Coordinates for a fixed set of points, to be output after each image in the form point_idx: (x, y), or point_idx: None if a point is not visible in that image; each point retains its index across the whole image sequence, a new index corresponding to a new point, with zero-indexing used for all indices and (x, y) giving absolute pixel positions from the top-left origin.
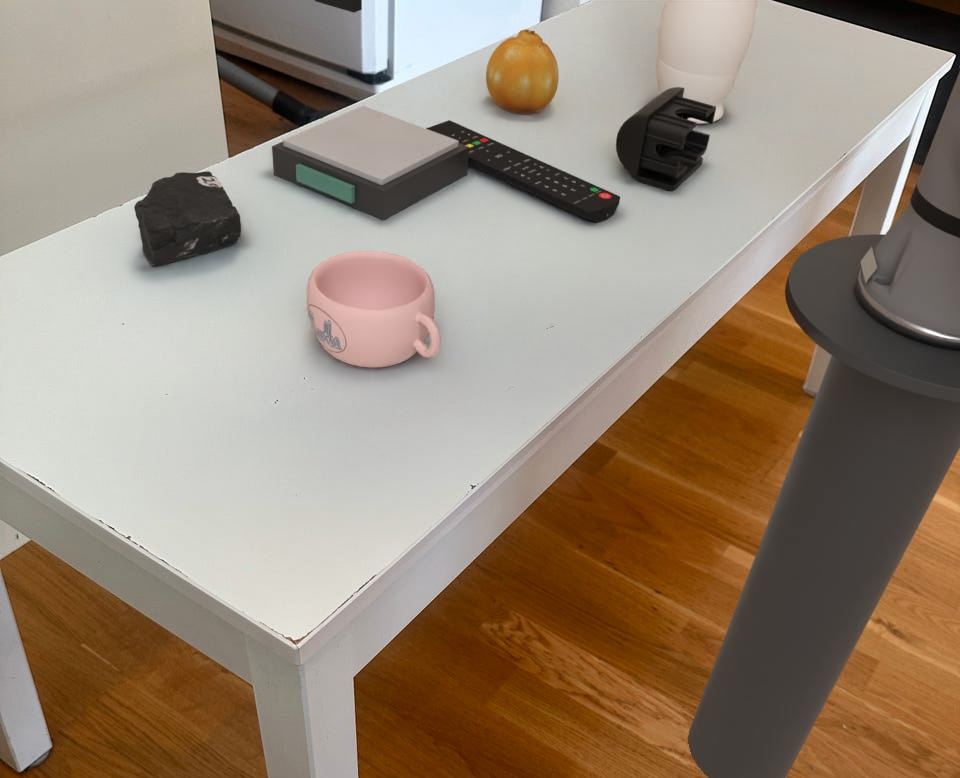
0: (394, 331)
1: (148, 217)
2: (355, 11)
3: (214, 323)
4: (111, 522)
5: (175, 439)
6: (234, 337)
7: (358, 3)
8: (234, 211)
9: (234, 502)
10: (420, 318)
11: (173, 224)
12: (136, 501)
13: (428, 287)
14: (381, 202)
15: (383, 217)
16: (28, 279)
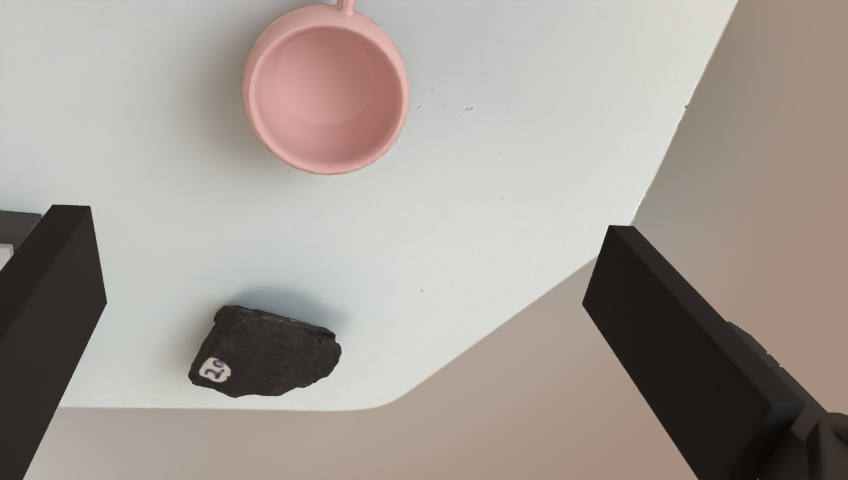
0: (381, 30)
1: (333, 360)
2: (630, 226)
3: (377, 233)
4: (672, 129)
5: (558, 153)
6: (388, 204)
7: (623, 232)
8: (244, 320)
9: (624, 56)
10: (352, 8)
11: (318, 341)
12: (644, 129)
13: (300, 26)
14: (32, 229)
15: (39, 215)
16: (401, 382)
